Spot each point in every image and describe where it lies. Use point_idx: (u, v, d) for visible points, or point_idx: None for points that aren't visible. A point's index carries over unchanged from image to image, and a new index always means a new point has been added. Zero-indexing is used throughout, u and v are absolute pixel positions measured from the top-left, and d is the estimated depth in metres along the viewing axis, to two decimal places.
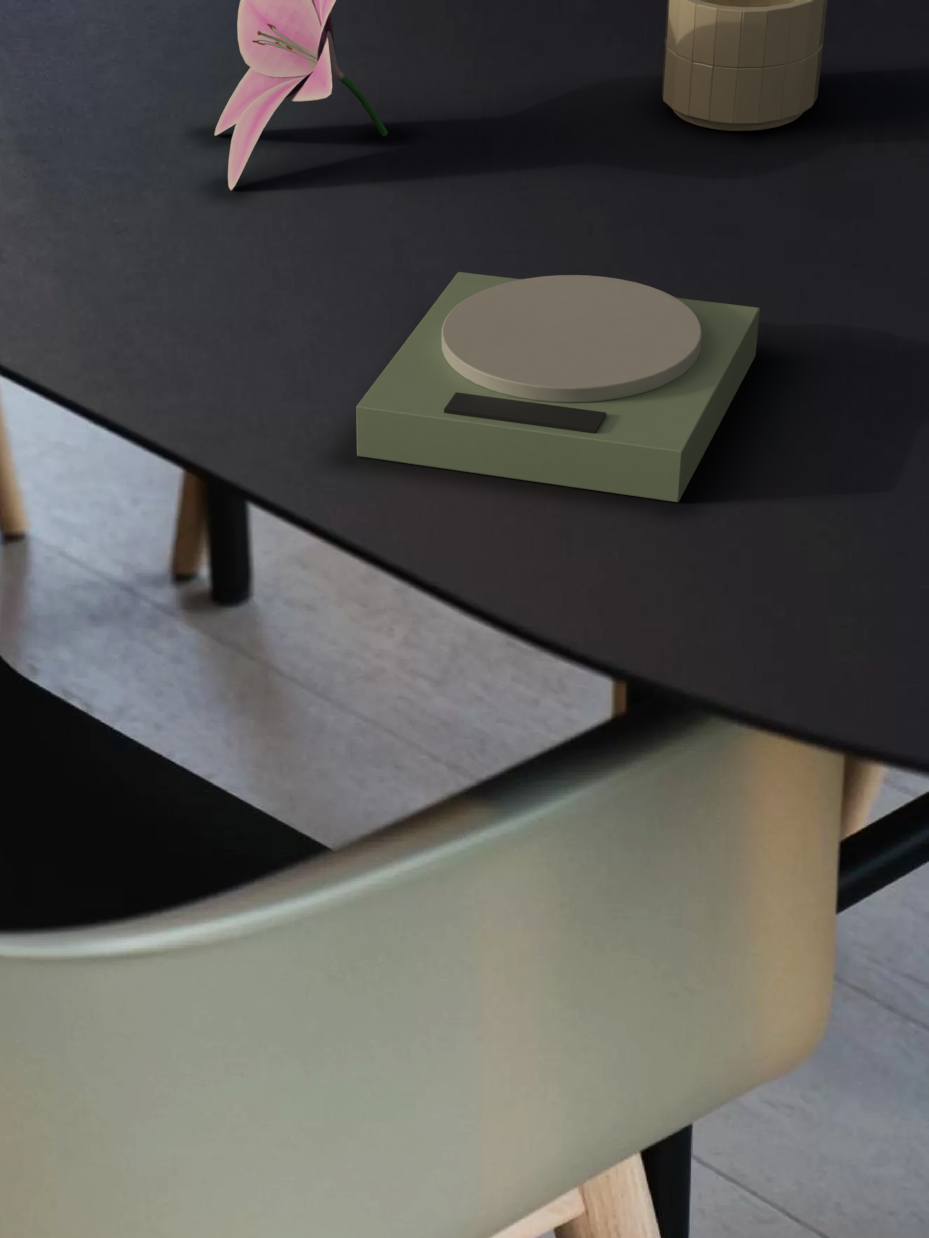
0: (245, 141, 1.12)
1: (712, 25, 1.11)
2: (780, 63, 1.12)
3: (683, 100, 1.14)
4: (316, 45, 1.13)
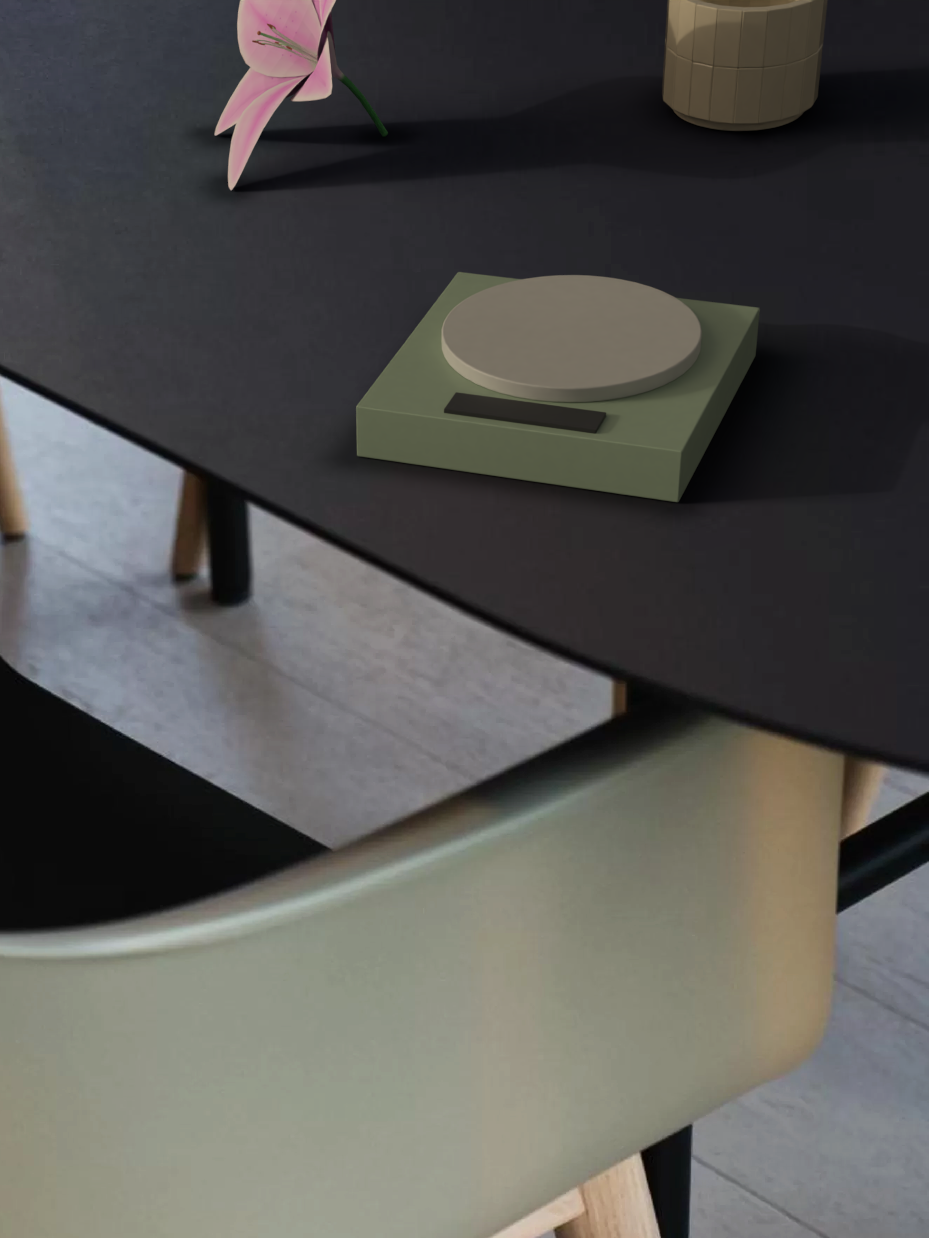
0: (245, 141, 1.12)
1: (712, 25, 1.11)
2: (780, 63, 1.12)
3: (683, 100, 1.14)
4: (316, 45, 1.13)
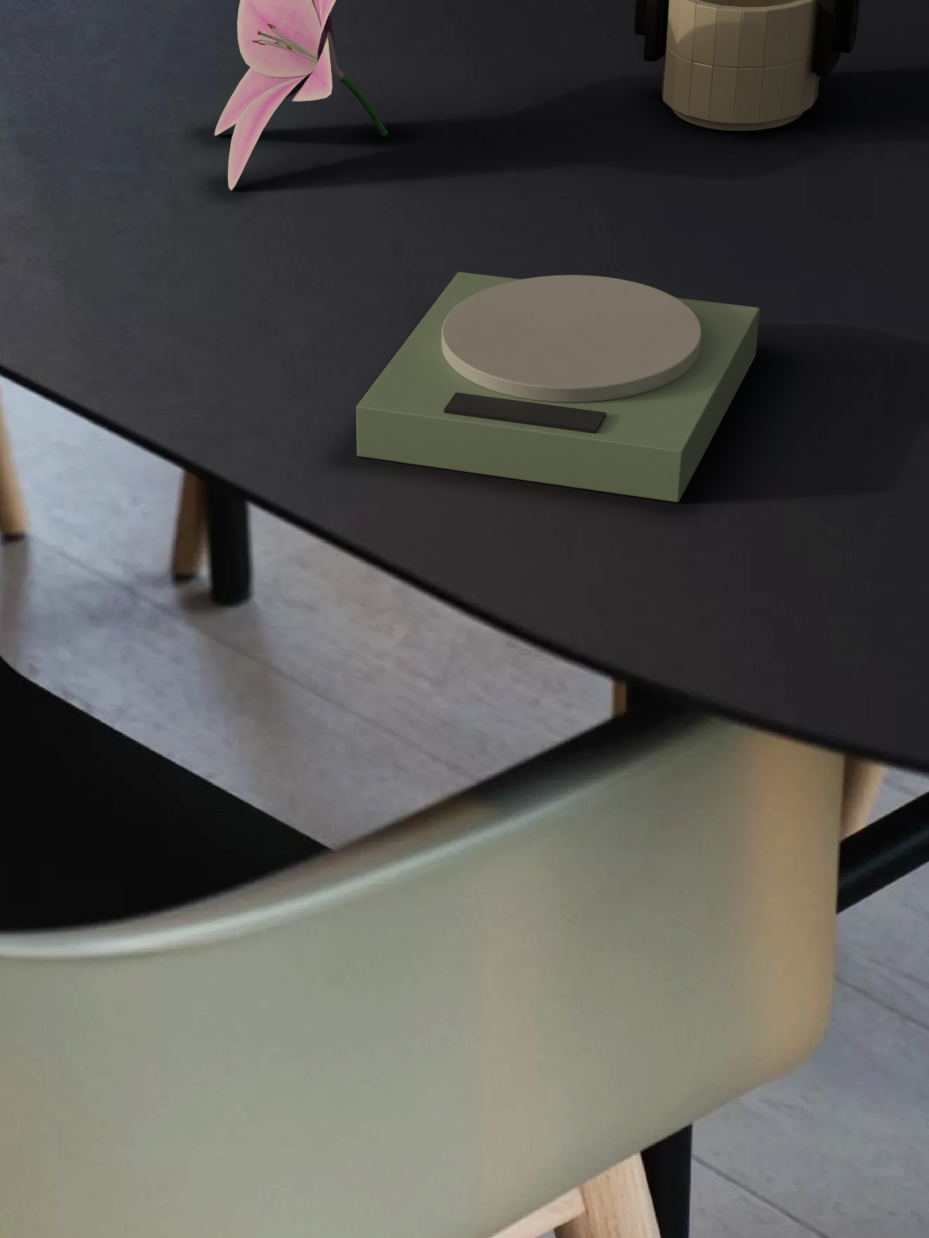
0: (245, 141, 1.12)
1: (712, 25, 1.11)
2: (780, 63, 1.12)
3: (682, 100, 1.14)
4: (316, 45, 1.13)
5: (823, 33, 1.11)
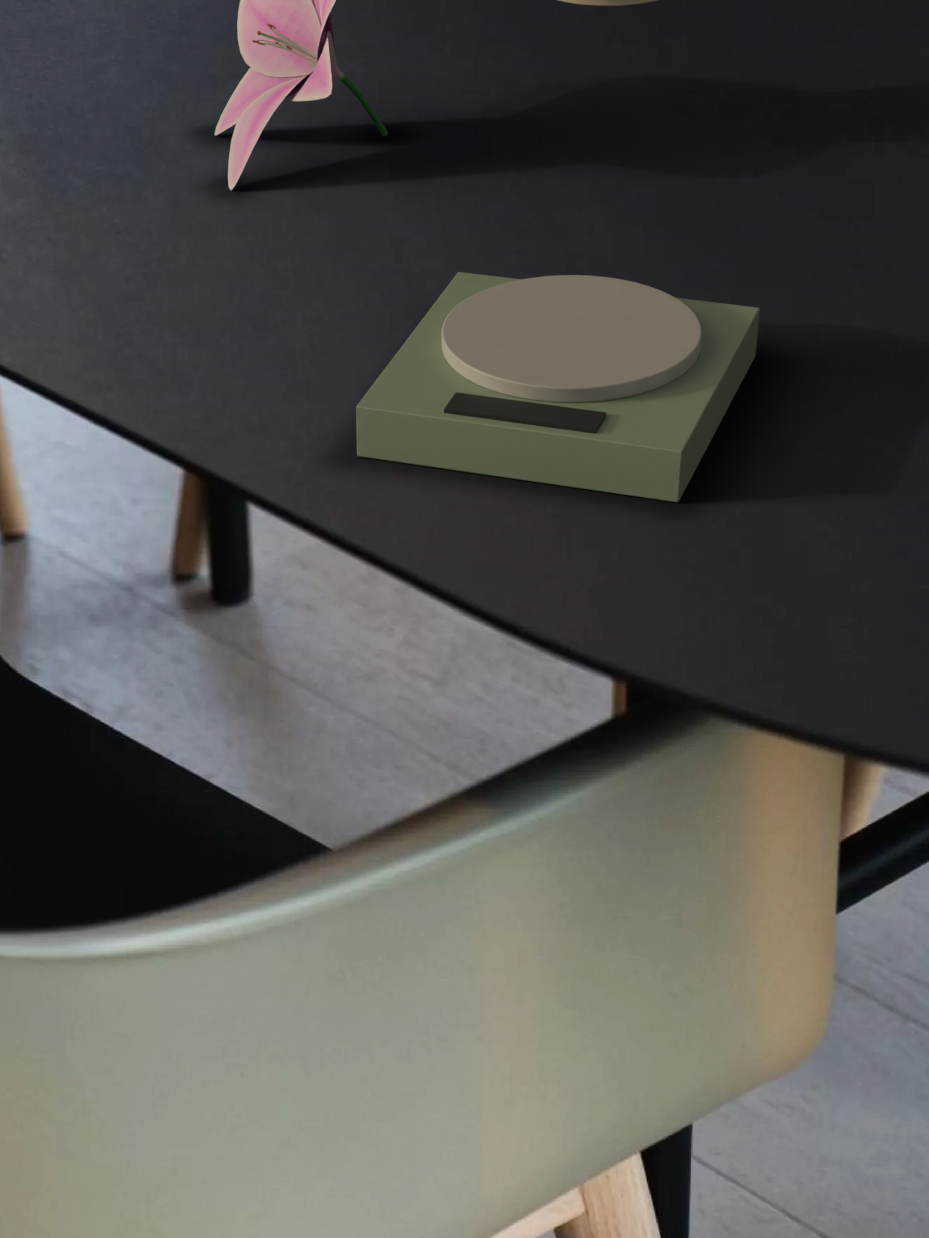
0: (245, 141, 1.12)
1: None
2: None
3: None
4: (316, 45, 1.13)
5: None
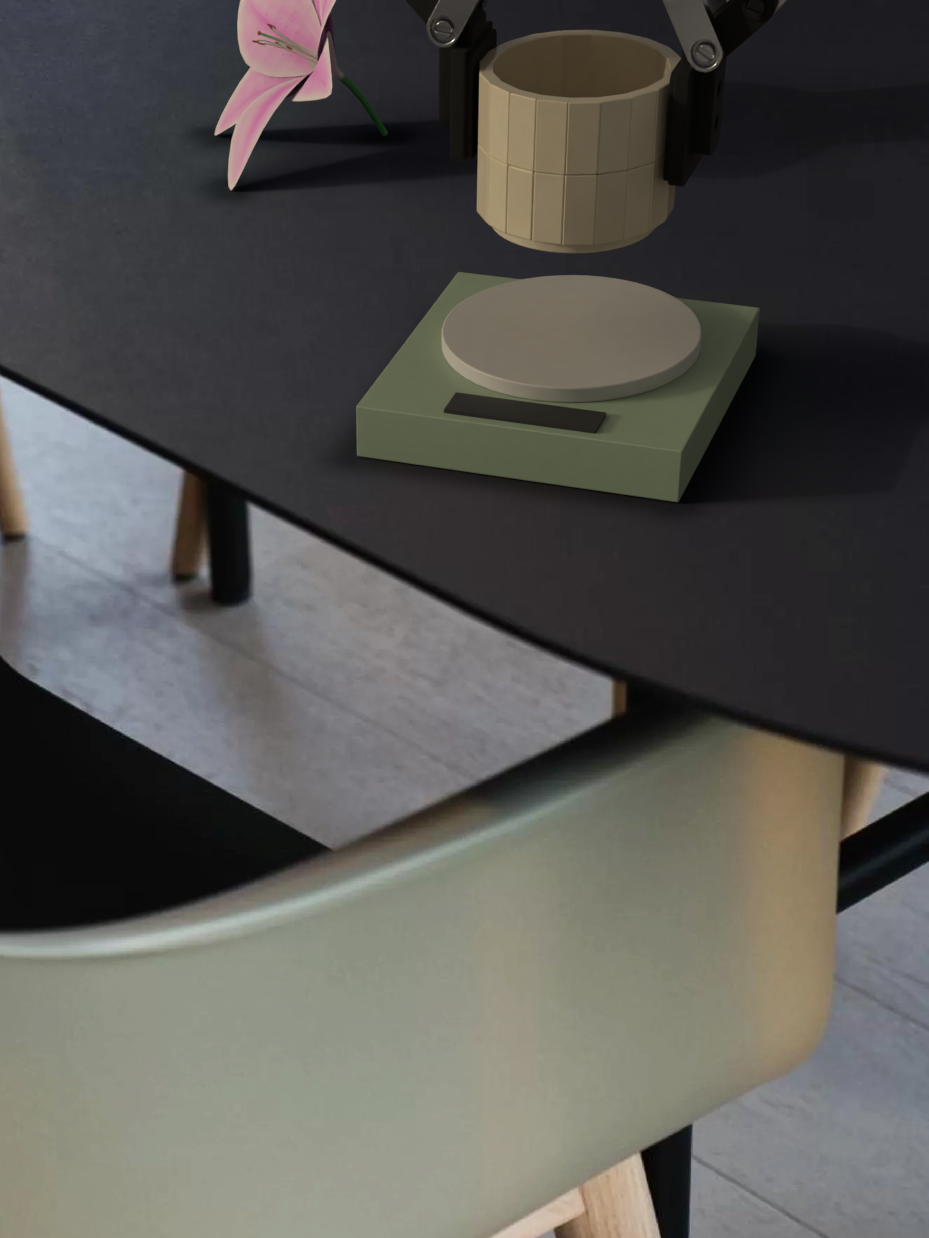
0: (245, 141, 1.12)
1: (530, 120, 0.86)
2: (620, 169, 0.87)
3: (498, 213, 0.89)
4: (316, 45, 1.13)
5: (675, 131, 0.86)
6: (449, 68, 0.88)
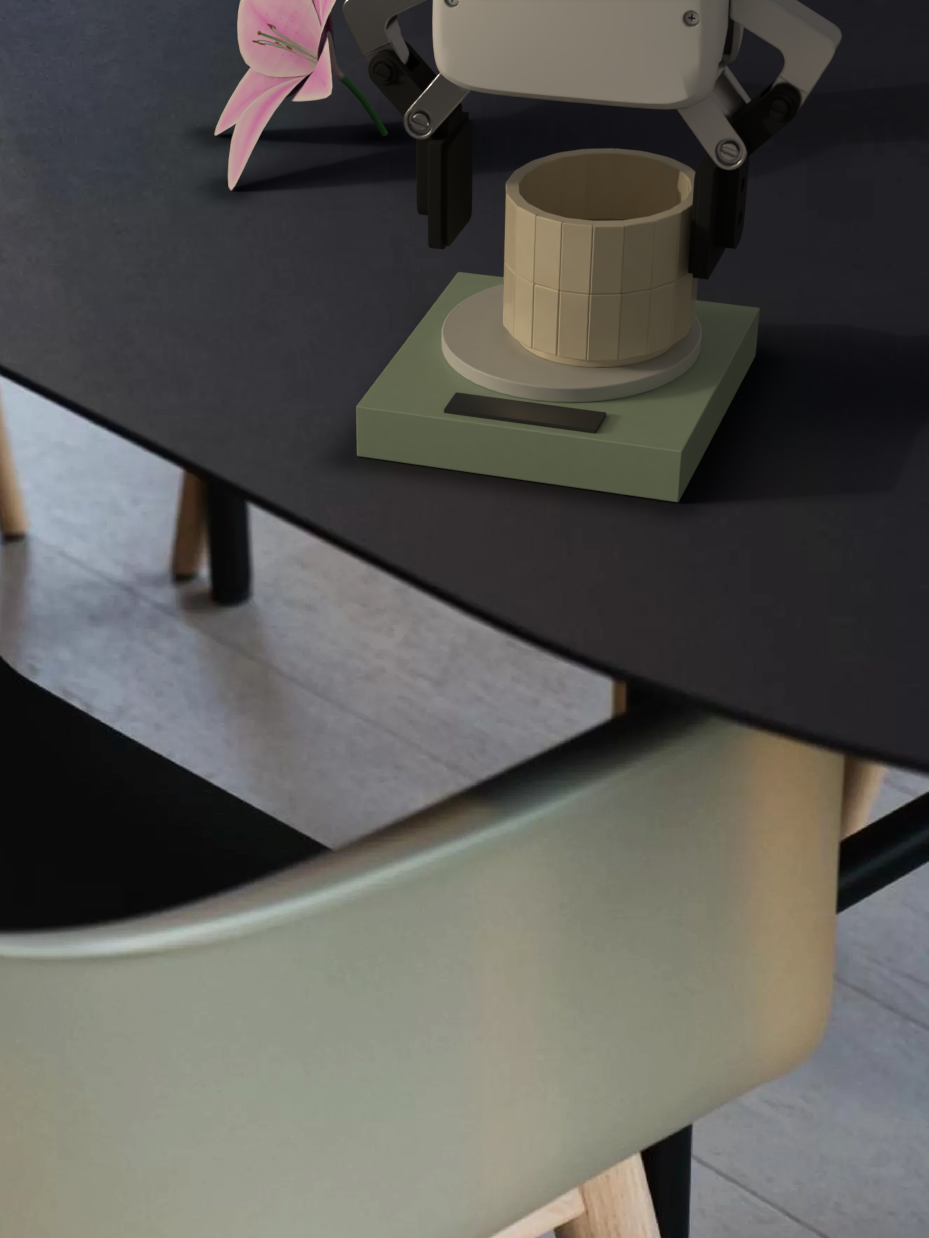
0: (245, 141, 1.12)
1: (556, 242, 0.88)
2: (643, 288, 0.89)
3: (524, 329, 0.91)
4: (316, 45, 1.13)
5: (699, 226, 0.88)
6: (426, 158, 0.91)
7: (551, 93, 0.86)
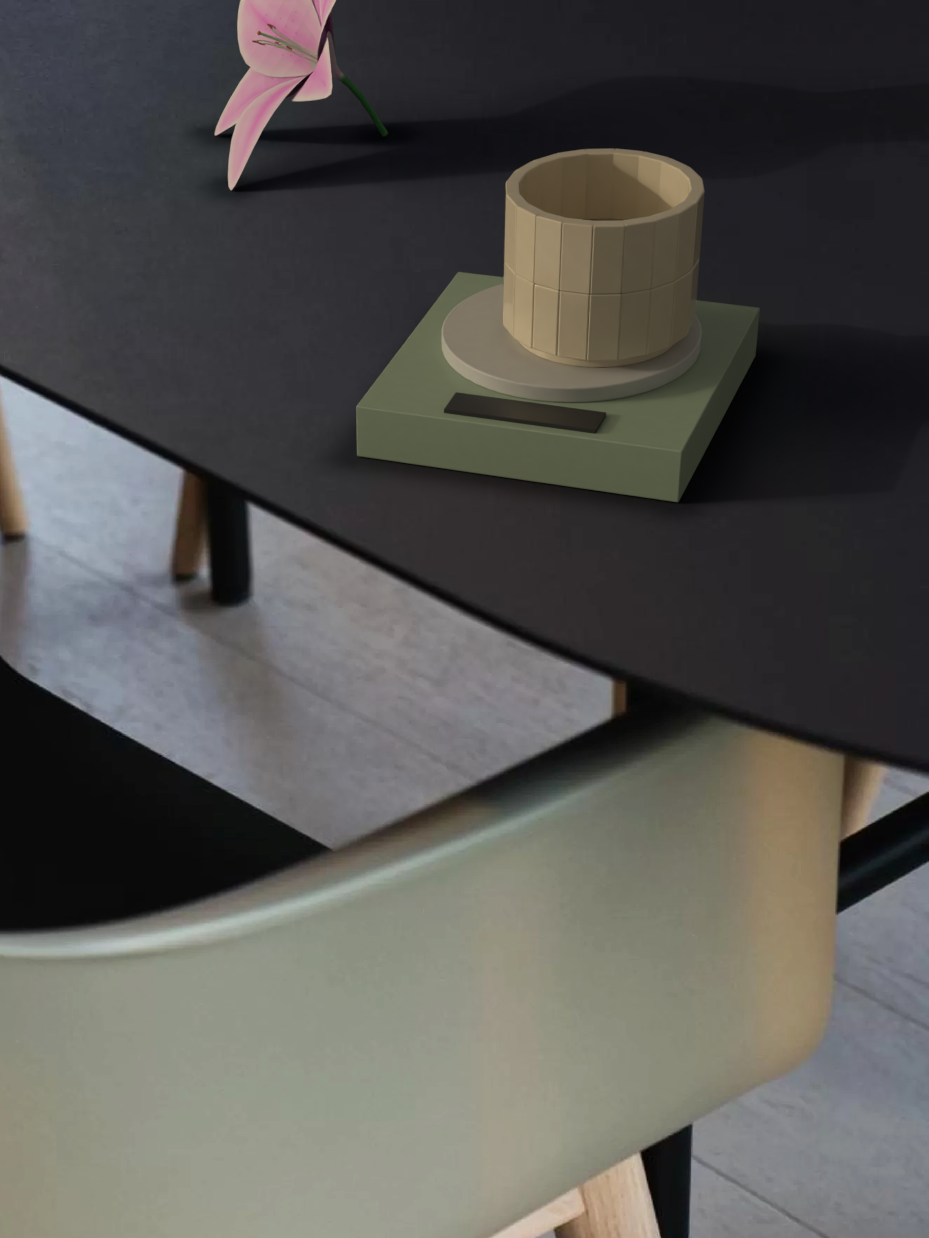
0: (245, 142, 1.12)
1: (556, 242, 0.88)
2: (643, 288, 0.89)
3: (524, 329, 0.91)
4: (316, 45, 1.13)
5: None
6: None
7: None
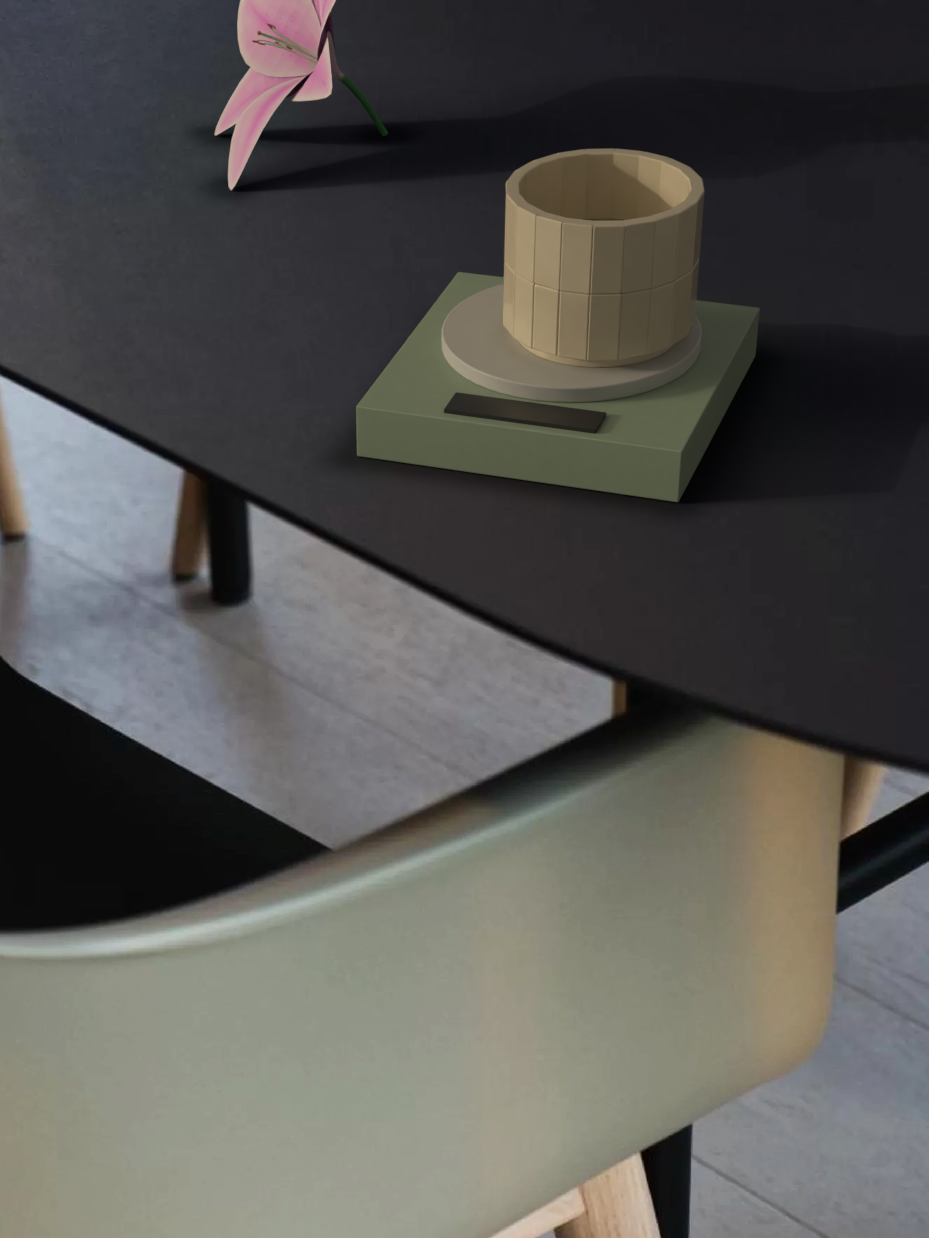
0: (245, 141, 1.12)
1: (556, 242, 0.88)
2: (643, 288, 0.89)
3: (524, 329, 0.91)
4: (316, 45, 1.13)
5: None
6: None
7: None
